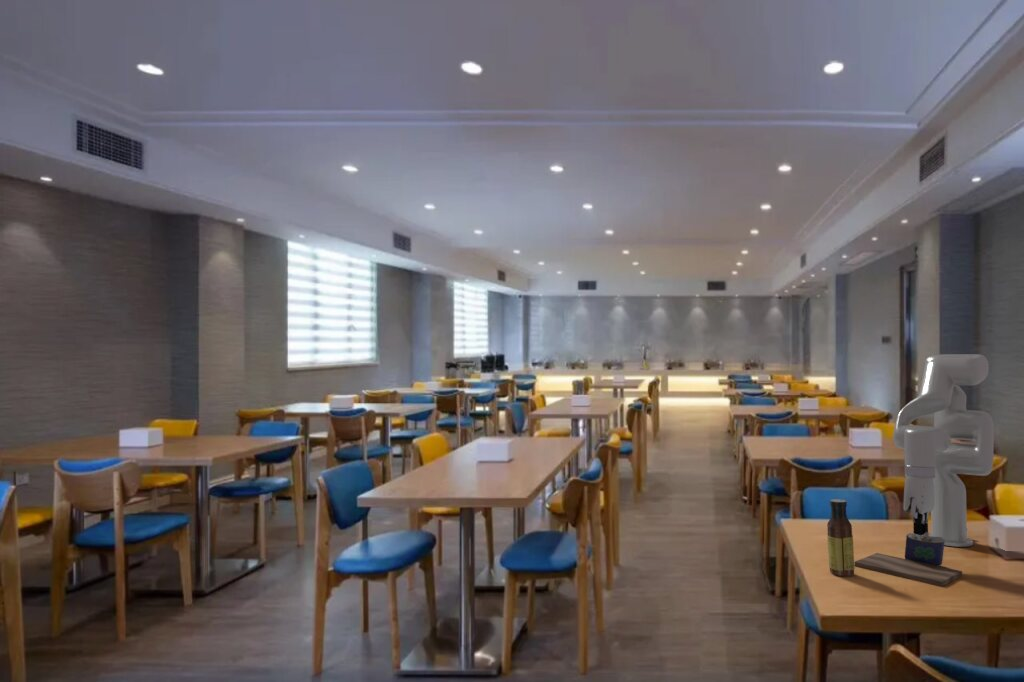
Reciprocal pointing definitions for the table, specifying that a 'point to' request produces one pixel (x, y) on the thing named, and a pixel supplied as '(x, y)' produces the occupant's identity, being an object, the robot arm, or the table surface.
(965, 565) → the table surface
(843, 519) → the sauce bottle
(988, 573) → the table surface
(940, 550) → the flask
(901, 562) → the walnut board
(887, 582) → the table surface
